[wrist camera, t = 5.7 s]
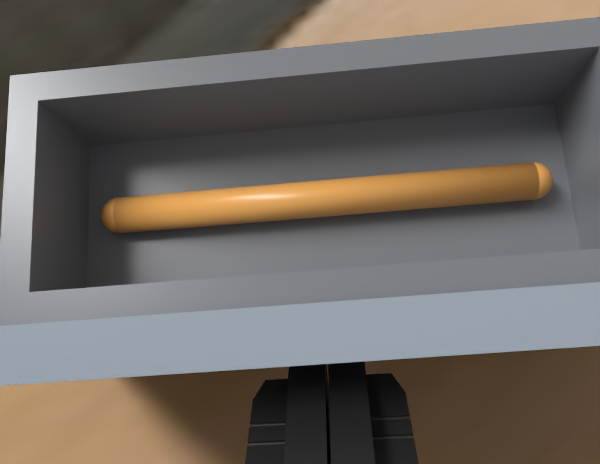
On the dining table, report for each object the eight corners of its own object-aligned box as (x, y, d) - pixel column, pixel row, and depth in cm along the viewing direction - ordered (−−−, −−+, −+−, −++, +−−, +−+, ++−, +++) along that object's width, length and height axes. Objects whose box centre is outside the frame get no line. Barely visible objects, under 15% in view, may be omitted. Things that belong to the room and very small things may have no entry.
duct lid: (688, 276, 19) (693, 306, 19) (-8, 327, 21) (-8, 355, 20) (1095, 245, 9) (1112, 311, 9) (-358, 351, 10) (-363, 409, 10)
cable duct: (606, 298, 25) (685, 277, 19) (71, 336, 27) (-5, 327, 21) (566, 89, 27) (626, 14, 22) (77, 134, 29) (10, 75, 23)
